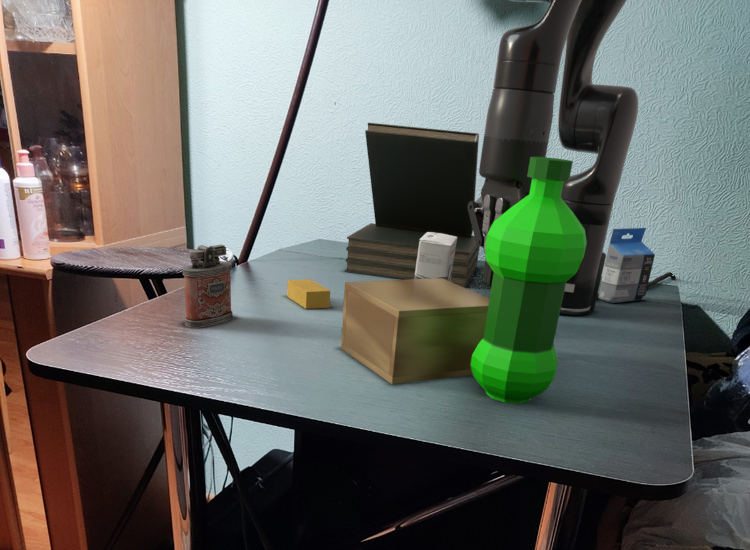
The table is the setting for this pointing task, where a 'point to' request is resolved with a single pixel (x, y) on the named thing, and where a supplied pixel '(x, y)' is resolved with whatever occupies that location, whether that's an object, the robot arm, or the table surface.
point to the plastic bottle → (528, 286)
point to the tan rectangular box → (413, 327)
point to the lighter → (207, 287)
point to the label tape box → (626, 267)
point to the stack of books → (416, 200)
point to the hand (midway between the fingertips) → (492, 285)
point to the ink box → (435, 256)
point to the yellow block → (308, 294)
